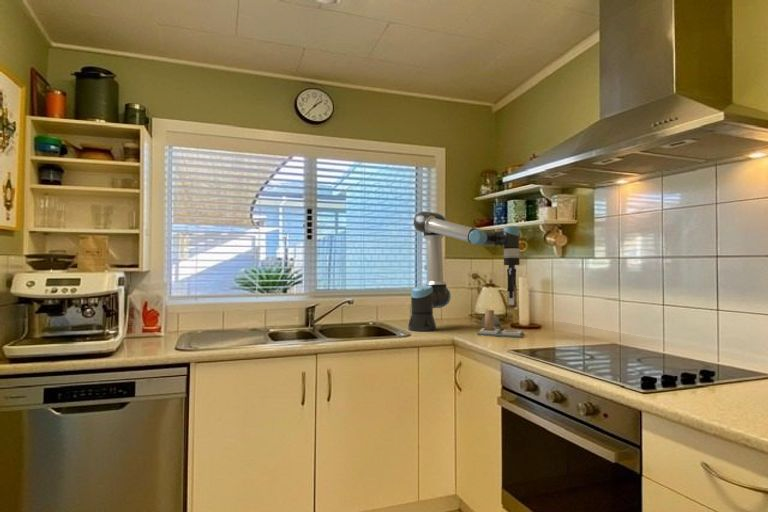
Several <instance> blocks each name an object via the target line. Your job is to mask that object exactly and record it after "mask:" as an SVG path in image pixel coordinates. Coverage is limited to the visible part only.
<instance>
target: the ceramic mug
mask: <svg viewBox="0 0 768 512" xmlns="http://www.w3.org/2000/svg"><path fill="white" fill-rule="evenodd" d="M480 325H481V326H482V328H485V316H484V317H482V319H481V321H480ZM494 329H499V331H502V329H503V326H502V325H501V324H500V319H499V317H498V316H497V315H496V314H494Z"/></svg>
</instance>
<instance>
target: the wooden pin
mask: <svg viewBox="0 0 768 512" xmlns="http://www.w3.org/2000/svg"><path fill="white" fill-rule="evenodd" d="M506 286H507V289H506V292H507V298H506V299H507V308H509V309H515V308H516V309H517V308H518V307H517V306H518V304H517V300H518V297H517V294H518V293H517V291H518V288H517V284H516V285H514V305H508V291H507V290H508V284H507V285H506Z"/></svg>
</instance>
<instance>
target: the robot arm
mask: <svg viewBox="0 0 768 512" xmlns="http://www.w3.org/2000/svg"><path fill="white" fill-rule="evenodd" d="M413 226H414V229H416V230H417V231H418V232H420V233H423V238H424V239H425V241H426V259H427V262H426V263H427V278H428V279H427V282H426V284H424V285H417V286H413V287H412V288H411V292H410V293H411V294H410V300H411V301H410V309H411V316H410V319H409V322H408V325H407V329H408V330H410V331H414V332H433V331H436V330H437V324H436V321H435V318H434V314H433V313H434V312H433V311H434V309H441V308H444V307H445V306H447V305H448V304H450V300H451V298H452V296H451V295H452V294H451V291H450V290H449V289H448V288H447V283H446V282H445V281H444V264H443V262H444V261H443V244H442V241H443V240H442V239H443V238H444V237H450V238H452V239H456V240H459V241H463V242H467V243H470V244H471V245H474V246H483V247H498V246H499V247H501V246H502V247H503V257H504V258H503V265H504V266H508V267H507V270H506V272H507V274H506V275H507V285H508V290H507V289H506V292H507V291H508V304H507V306H508V305H514V285H517V268H516V266H520V263H521V262H520V261H521V260H520V253H521V252H522V251H521V250H520V228H519V227H518V226H514V225H508V226H504V227H503V230H494V231H492V230H484V229H483V230H482V229H478V228H474V227H471V226H466V225H463V224H459V223H455V222H452V221H448V220H447V219H446V217H445V216H444V215H443V214H441V213H438V212H431V211H420V212H418V213H417V214H416V215H415V216H414V219H413Z"/></svg>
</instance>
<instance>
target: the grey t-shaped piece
mask: <svg viewBox="0 0 768 512" xmlns="http://www.w3.org/2000/svg"><path fill="white" fill-rule="evenodd" d="M494 315H495V311H494V310H493V309H485V310H484V317H485V328H483V327H482V328H481V329H480V330H479V331H478V332H477V334H476V335H477V336H481V335H483V337H484V336H485V337H500V338H513V339H522V338H523V337H524V335H525V333H524V332H522V329H521V330H520V329H506V328H505V329H503V330H499V329H494Z"/></svg>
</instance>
